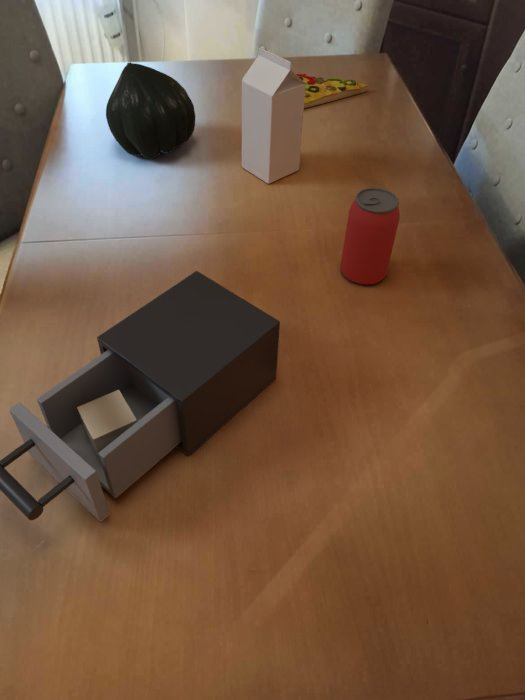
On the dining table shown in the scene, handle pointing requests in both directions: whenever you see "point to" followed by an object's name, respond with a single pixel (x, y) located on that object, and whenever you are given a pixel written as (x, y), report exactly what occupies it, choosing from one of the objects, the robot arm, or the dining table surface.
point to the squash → (149, 112)
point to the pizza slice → (328, 89)
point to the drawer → (74, 447)
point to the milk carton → (271, 118)
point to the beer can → (370, 235)
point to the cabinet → (199, 352)
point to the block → (105, 419)
